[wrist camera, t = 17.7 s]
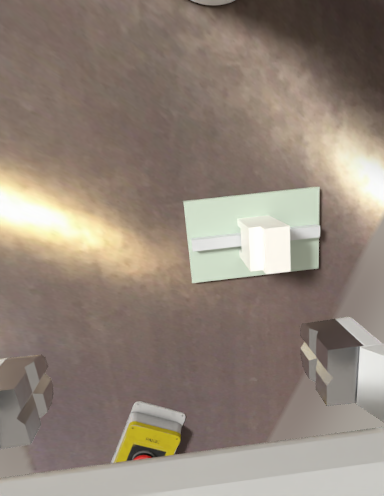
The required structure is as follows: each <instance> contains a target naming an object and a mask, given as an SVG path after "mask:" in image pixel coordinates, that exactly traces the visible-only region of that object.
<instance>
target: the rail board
mask: <svg viewBox="0 0 384 496" xmlns="http://www.w3.org/2000/svg"><path fill="white" fill-rule="evenodd" d="M319 190H320V187H308V188H299V189H290V190H281V191H271V192H262V193H253V194H244V195H234V196H225V197H216V198H207V199H198V200H188V201H183V202H184V211H185V221H186V230H187V239H188V248H189V258H190V267H191V276H192V283H198V282H207V281H215V280H224V279H232V278H241V277H249V276H258V275H266V274H265V273H264V271H263V270H260V271H252V272H251V271H250V270H249V269H248V267H247V266H246V265H245V263H244V262H243V261H242V259H241V258H240V256H239V250H242V248H241V231H240V227H238V224H237V219H239V218H248V217H257V216H266V215H269V216H271V217H273V218H275V219H277V220H279V221H281V222H283V223H285V224H287V225H289V226H290V262H291V271H290V272H292V271H300V270H309V269H317V268H319V237H320V226H319ZM282 273H283V272H282ZM274 274H275V273H274Z"/></svg>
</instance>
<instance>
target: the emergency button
mask: <svg viewBox="0 0 384 496" xmlns="http://www.w3.org/2000/svg"><path fill="white" fill-rule="evenodd" d="M185 417H186V416H185V414H184V413H182V412H179V411H175V410H171V409H168V408H164V407H160V406H156V405H153V404H149V403H145V402H141V401H138V402H136V403H135V404H134V405H133V408H132V410H131V413H130V415H129V418H128V420H127V423H126V425H125V428H124V431H123V433H122V436H121V438H120V441H119V443H118V446H117V448H116V451H115V453H114V456H113V458H112V461H111V463H116V462H124V461H131V460H139V459H146V458H154V457H161V456H169V455H174V454H175V451H176V449H177V447H178V445H179V443H180V439H181V428H182V426H183V423H184V421H185Z"/></svg>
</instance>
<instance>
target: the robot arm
mask: <svg viewBox="0 0 384 496" xmlns="http://www.w3.org/2000/svg"><path fill="white" fill-rule="evenodd" d="M191 1H194V2H196V3H200V4H204V5H222V4H227V3H230V2H233V1H235V0H191ZM300 336H301V337H302V339H303V340H304V341H305V342H304V344H303V345H302V347H301V348H300V351H301V361H302V365H303V368H304V371H305V373H306V375H307V376H308V378H309V379H311V380H312V381H314V382H316V390H317V392H318V393H319V395H320V396H321V398H322V399H323V401H324V402H325V404H326V406H331V405H341V404H351V403H356V404H357V405H358V406H360V407H361V408H363V409H364V410H366V411H367V412H369V413H370V414H372V415H373V416H375V417H376V418H378V419H380V420H381V421H382V422H384V344H382V343H381V342H380V341H379V340H378V339H376V338H375V337H374V336H373V335H371V334H370V333H369V332H368V331H367V330H366V329H364V328H363V327H362V326H361V325H360V324H358V323H357V322H356V321H355V320H354V319H352V318H350V317H343V318H337V319H330V320H323V321H317V322H310V323H304V324H301V328H300ZM47 368H48V365H47V361H46V358H45V357H44V356H43V355H33V356H23V357H13V358H3V359H0V449H5V448H11V447H17V446H24V445H30V444H31V443H32V441H33V439H34V437H35V435H36V433H37V432H38V430H39V428H40V426H41V421H40V418H41V417H42V416H43V415H44V414H46V413H47V412H48V410H49V408H50V406H51V404H52V399H53V384H52V379H51V378H50V377H49V376H47V375H46V374H45V372H46V370H47ZM0 496H384V427H379V428H372V429H364V430H357V431H350V432H342V433H334V434H327V435H320V436H312V437H305V438H297V439H289V440H282V441H274V442H267V443H259V444H252V445H244V446H237V447H229V448H222V449H214V450H207V451H199V452H192V453H184V454H176V455H169V456H161V457H154V458H146V459H139V460H131V461H124V462H116V463H109V464H101V465H94V466H86V467H79V468H71V469H64V470H56V471H48V472H41V473H33V474H27V475H19V476H11V477H3V478H0Z"/></svg>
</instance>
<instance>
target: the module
mask: <svg viewBox="0 0 384 496" xmlns="http://www.w3.org/2000/svg"><path fill="white" fill-rule="evenodd" d="M237 224H238V227H240V231H241V248H242V250H239V256H240V258H241V259H242V261H243V262H244V263H245V265H246V266H247V267H248V269H249V270H250V271H251V272H252V271H260V270H263V271H264V273H265V274H274V273H282V272H290V271H291V262H290V226H289V225H287V224H285V223H283V222H281V221H279V220H277V219H275V218H273V217H271V216H269V215H266V216H257V217H248V218H239V219H237Z"/></svg>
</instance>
